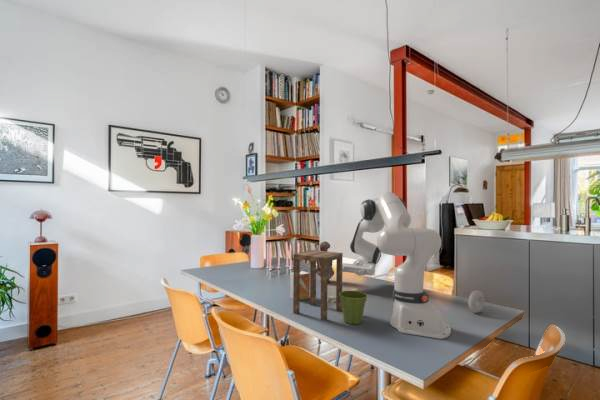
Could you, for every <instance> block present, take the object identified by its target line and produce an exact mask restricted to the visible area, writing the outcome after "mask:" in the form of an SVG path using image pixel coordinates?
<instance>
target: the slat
mask: <svg viewBox="0 0 600 400" xmlns="http://www.w3.org/2000/svg"><path fill="white" fill-rule="evenodd" d="M348 291H360V292H362V290H361V288H357V287H356V288H353V289H350V290H348ZM327 302H330V303H336V294H334V295H331V296H329V297H328V296H327Z"/></svg>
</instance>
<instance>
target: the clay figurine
mask: <svg viewBox="0 0 600 400" xmlns="http://www.w3.org/2000/svg"><path fill="white" fill-rule="evenodd" d="M330 248H331V244H330V242H328V241H322V242H320V243H319V251H327V252H328V249H330ZM333 261H334V260H333ZM333 261H329V262H328V268H327V283H328V282H329V283H330V282H331V280H330V279H332V277H333V276H334V275H335V270H334V268H333ZM316 275H317V276H319V277H320V278H321V262H316ZM320 283H321V280H320Z"/></svg>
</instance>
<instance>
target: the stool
mask: <svg viewBox="0 0 600 400" xmlns="http://www.w3.org/2000/svg"><path fill="white" fill-rule="evenodd" d="M335 260H336V265H335V266H336V268H335V269H336V273H335V274H336V279H335V280H336V288H335V289H336V291H335V295H336V302H335V307H336V308H335V310H336V311H337V312H343V309H342V302H341V298H340V295H339V293H340V292H342V291H343V272H342V264H343V252H335V251H328V250H327V251H320V250H316V249H311V250H307V251H301V252H298V253H293V272H294V280H293V299H292V300H293V301H292V302H293V304H292V309H293V310H292V311H293V312H292V313H293V314H295V315H297V314H300V312H301V311H300V304H301V303H300V301H301V300H300V272H301V261H310V262H309V263H310V265H309V266H310V271H309V273H310V287H309V304H310V306H316V305H317V302H316V301H317V273H316V269H317V262H321V277H320V281H321V282H320V320H321V321H324V322H325V321H327V320H328V281H327V268H328V262H329V261H335Z"/></svg>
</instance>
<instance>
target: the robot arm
mask: <svg viewBox="0 0 600 400" xmlns="http://www.w3.org/2000/svg"><path fill="white" fill-rule="evenodd" d="M359 212H360V215H361V219H360V221H359V222H358V224H357V226H356V228H355V232H354V234H353V238H352V240H351V242H350V245H349V247H350V248H349V249H350V251H351V253H353V254H355V255H359V256H361V257H362V258H359V259H356V260H355V261H353V263H348V262H346V263H345V262H342V273H349V274H351V273H352V274H355V275H356V276H375V275H376V266H377V265H378V263H379V261H380V259H381V257H382V254H385V255H388V256H400V257H401V256H406V259H405V260H404V262H403V263H401V264H399V265H397V267H396V268H395V269H394V282H393V283H394V288H393V290H392V300H393V301H392V302H393V306H392V307H393V309H392V315H391V318H390V320H389V321H390V322H389V324H390V325H391V327H393V328H395V329H397V331H398V332H399V333H401V334H407V335H408V334H409V335H412V336H413V335H415V336H420V337H426V338H433V339H439V340H440V339H441V340H442V339H446V338H448V337H449V336H450V335H451V333H452V329H451V327H450V325H449V324H446V323H445V318H444V314H443V313H442V311H440V310H439V308H437V307H436V306H435V305H433V304H432V303H431V302H430V301H429V299H430V297H429V296H430V293H429V292H426V291H424V282H425V281H424V280H425V271H426V269H427V268H426V267H427V265H428V263H429V261H430V260H431V258H432V257H434V255H436V254H437V253H439V251H440V249H441V247H442V237H441V236H440V233H439V232H438V231H437V230H435V229H431V228H426V227H409V226H410V224H411V220H412V217H411V215H410V213H409V211H408V209H407V208H406V203H405V200H403V199H402V198H401V197H399V196H397V195H396V193H393V192H392V191H390V192H389V191H386V192H384V193H382V194H381V195H379V197H377V198H373V199H372V198H371V199H369V198H368V199H366V200H363V201H362V202H361V203H360V210H359ZM378 232H379V233H378ZM364 233H371V234H372V233H373V234H374V233H378V235H377V237H376V244H375V243H373V242H371V241H368V240H366V239H364V238H363V235H364Z"/></svg>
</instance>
